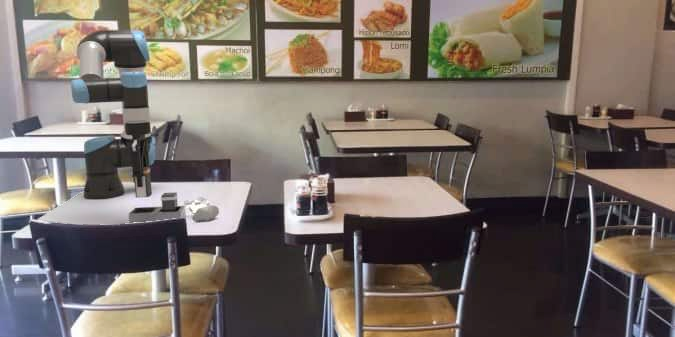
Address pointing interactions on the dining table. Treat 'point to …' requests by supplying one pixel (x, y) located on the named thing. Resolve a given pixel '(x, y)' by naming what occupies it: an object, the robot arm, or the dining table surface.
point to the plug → (146, 181)
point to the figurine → (202, 210)
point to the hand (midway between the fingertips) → (143, 194)
